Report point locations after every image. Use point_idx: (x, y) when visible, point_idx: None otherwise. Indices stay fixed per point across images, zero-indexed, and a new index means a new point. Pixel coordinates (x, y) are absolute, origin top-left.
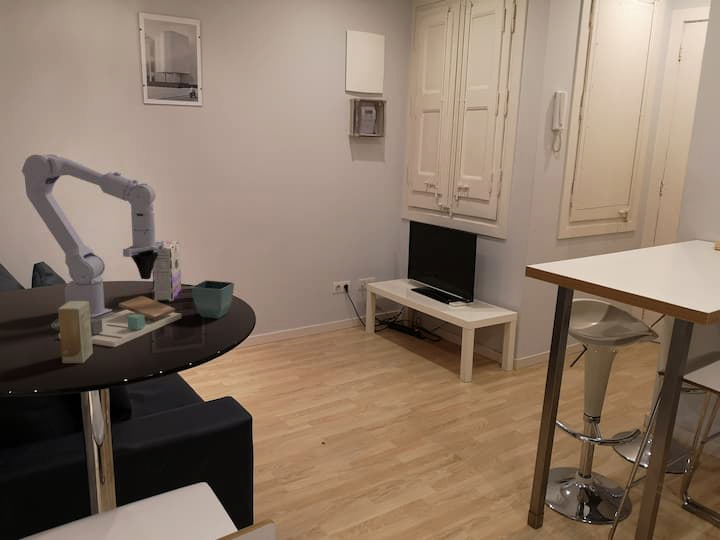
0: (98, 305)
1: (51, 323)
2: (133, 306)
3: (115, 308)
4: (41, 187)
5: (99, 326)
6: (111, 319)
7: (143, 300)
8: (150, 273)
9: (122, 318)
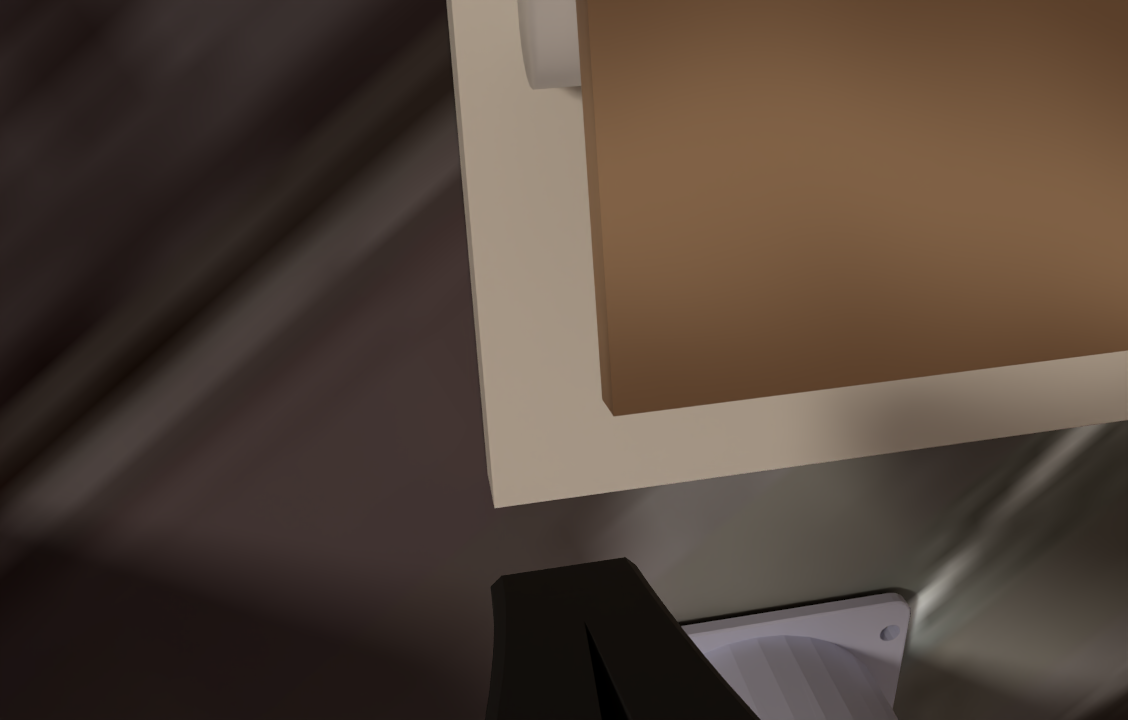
0: (821, 706)
1: (1100, 710)
2: (1123, 120)
3: (468, 697)
4: None
5: None
6: None
7: (770, 229)
8: (554, 663)
9: None
